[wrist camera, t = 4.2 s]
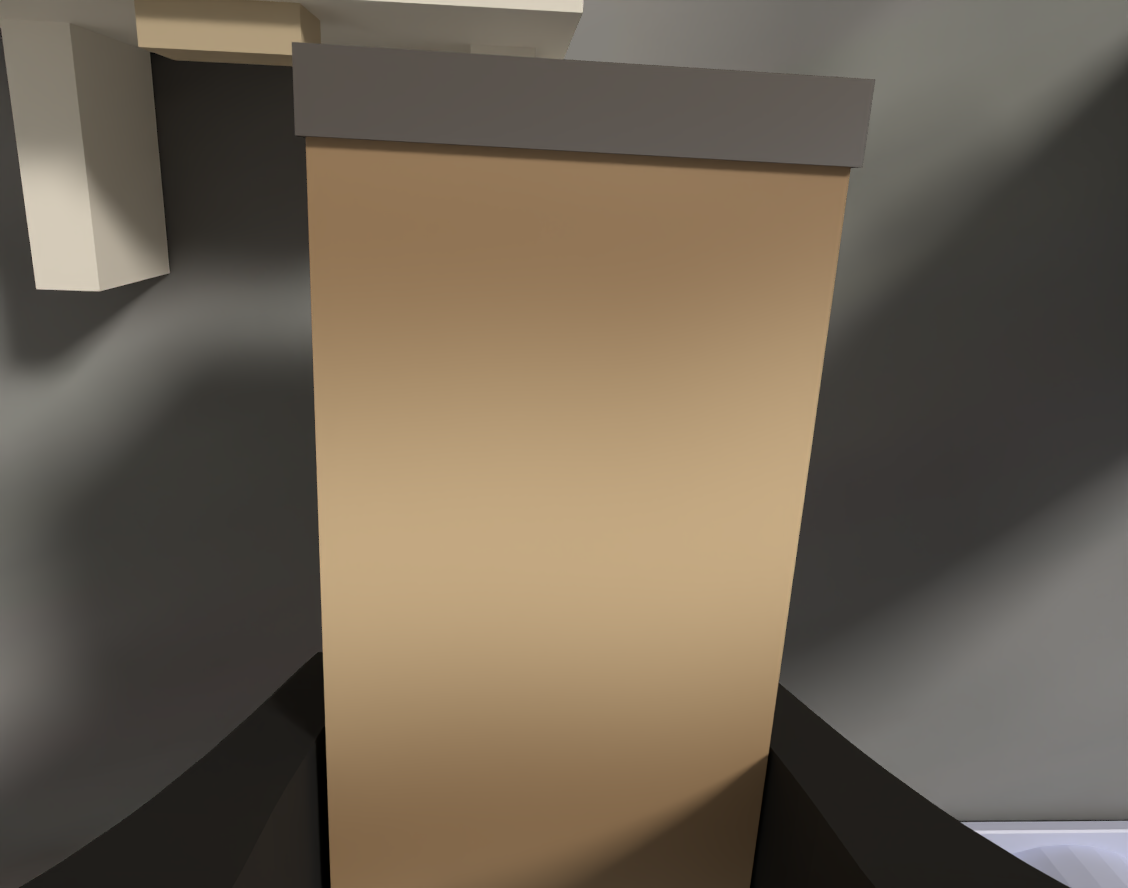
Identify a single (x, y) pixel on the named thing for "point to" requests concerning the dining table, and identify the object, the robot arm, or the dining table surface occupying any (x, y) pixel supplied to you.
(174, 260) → the dining table surface
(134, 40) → the post
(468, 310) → the rail
